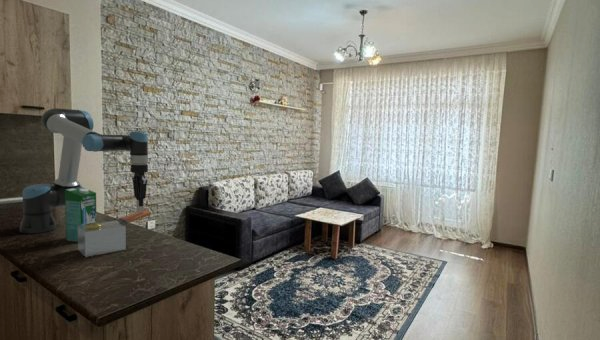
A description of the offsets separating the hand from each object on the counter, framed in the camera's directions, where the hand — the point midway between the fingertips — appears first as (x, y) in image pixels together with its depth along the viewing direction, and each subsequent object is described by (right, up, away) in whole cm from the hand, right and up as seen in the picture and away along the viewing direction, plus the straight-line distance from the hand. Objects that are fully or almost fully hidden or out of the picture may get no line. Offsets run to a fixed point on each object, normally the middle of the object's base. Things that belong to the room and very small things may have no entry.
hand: (140, 212), depth 161 cm
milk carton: (-30, -13, +3) cm, 33 cm away
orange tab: (-2, -2, -1) cm, 3 cm away
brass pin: (-15, -16, -12) cm, 25 cm away
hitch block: (-12, -16, -10) cm, 22 cm away
